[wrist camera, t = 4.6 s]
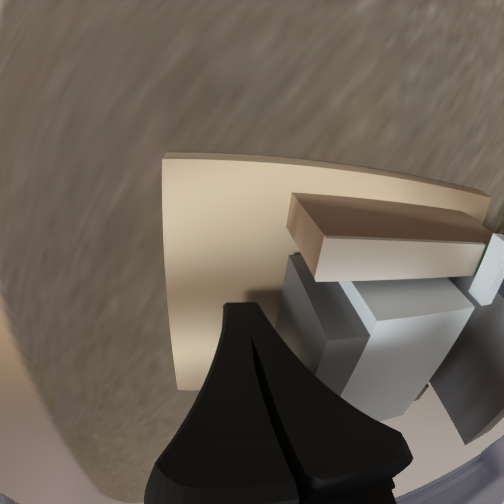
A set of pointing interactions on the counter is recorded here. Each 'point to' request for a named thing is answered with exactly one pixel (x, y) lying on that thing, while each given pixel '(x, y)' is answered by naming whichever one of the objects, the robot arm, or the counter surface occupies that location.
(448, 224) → the stand
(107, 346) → the counter surface
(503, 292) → the dark navy block
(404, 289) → the light grey block
